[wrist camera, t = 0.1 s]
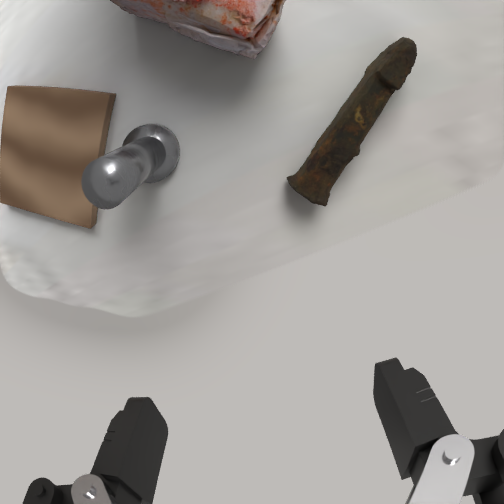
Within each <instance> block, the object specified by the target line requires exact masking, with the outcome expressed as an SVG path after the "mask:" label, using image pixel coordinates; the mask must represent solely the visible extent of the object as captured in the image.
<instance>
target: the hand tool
mask: <svg viewBox="0 0 504 504" xmlns="http://www.w3.org/2000/svg"><path fill="white" fill-rule="evenodd" d="M416 49H417V48H416V44H415V43H414V41H413V40H411V39H409V38H404V37H402V38H400V39H399V40H398V41H396V42H395V43H393V44H391V45H390V46H388V48H386V49H385V51H383V52H381V53H380V55H379V56H378V57H377V58H376V59H375V60H374V61H373V62H372V63H371V64H370V65H369V66H368V67H367V69H366V71H365V75H364V77H363V78H362V80H361V81H360V83H359V84H358V85H357V87H356V88H355V89H354V91H353V92H352V93H351V95H350V96H349V98H348V99H347V101H346V102H345V103H344V104H343V106H342V107H341V108H340V110H339V112H338V114H337V116H336V117H335V118H334V120H333V121H332V123H331V124H330V125H329V127H328V128H327V129H326V131H325V132H324V133H323V134H322V136H321V137H320V138H319V140H318V141H317V143H316V145H315V147H314V148H313V150H312V151H311V154H310V155H309V157H308V158H307V159H306V161H305V163H304V164H303V165H302V167H301V168H300V169H299V171H298V172H297V173H296V174H294V175H293V176H289V177H287V180H288V182H289V184H290V185H291V187H292V188H293V189H294V190H295V191H296V192H298V193H299V194H301V195H302V196H303V197H305V198H306V199H308V200H309V201H310V202H311V203H314V204H318V205H323V206H326V205H327V202H328V198H329V196H330V190H331V188H332V186H333V185H334V183H335V182H336V180H337V179H338V177H339V176H340V174H341V173H342V171H343V170H344V168H345V167H346V165H347V164H348V163H349V162H350V161H351V160H352V159H353V157H355V156H358V155H359V152H360V144H361V143H362V141H363V140H364V138H365V136H366V135H367V133H368V132H369V130H370V129H371V127H372V126H373V124H374V123H375V121H376V119H377V118H378V116H379V115H380V113H381V112H382V110H383V108H384V106H385V105H386V103H387V102H388V100H389V98H390V97H391V95H392V94H393V93H394V91H395V90H399V89H400V88H401V87H402V85H403V83H404V82H405V80H406V77H407V75H408V74H410V73H411V69H412V67H413V66H414V63H415V60H416V56H417V50H416Z"/></svg>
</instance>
